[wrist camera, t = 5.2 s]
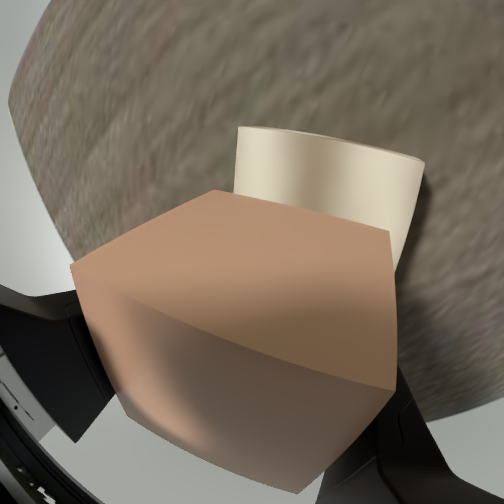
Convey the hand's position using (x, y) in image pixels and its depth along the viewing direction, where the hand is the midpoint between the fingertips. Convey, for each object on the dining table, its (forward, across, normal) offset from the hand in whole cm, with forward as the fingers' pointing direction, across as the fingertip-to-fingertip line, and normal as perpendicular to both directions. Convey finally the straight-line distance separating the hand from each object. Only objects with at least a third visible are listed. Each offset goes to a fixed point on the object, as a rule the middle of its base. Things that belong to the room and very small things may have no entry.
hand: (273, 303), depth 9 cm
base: (+10, 0, 0) cm, 10 cm away
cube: (+1, 0, 0) cm, 1 cm away
